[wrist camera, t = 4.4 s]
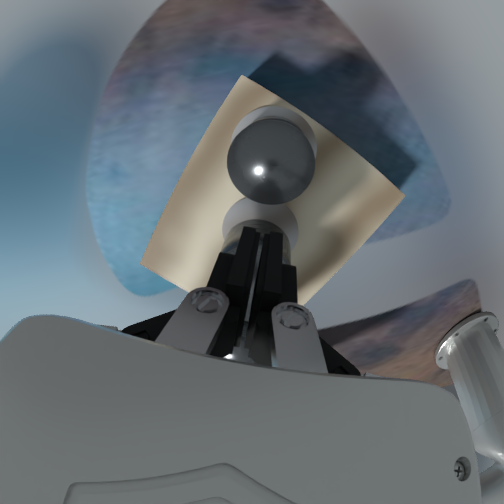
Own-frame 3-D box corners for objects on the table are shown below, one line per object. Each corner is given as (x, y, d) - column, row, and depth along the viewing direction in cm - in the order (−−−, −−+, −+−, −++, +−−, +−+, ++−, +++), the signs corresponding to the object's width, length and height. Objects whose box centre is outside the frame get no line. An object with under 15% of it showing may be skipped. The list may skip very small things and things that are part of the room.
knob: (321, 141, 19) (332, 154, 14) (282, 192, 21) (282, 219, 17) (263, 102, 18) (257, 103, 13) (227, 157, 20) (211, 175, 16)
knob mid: (304, 243, 20) (308, 285, 16) (266, 286, 23) (261, 331, 18) (246, 206, 19) (234, 241, 15) (212, 255, 22) (195, 297, 17)
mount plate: (393, 184, 23) (406, 196, 20) (272, 316, 33) (270, 336, 30) (246, 77, 20) (241, 74, 17) (151, 248, 29) (139, 264, 27)
